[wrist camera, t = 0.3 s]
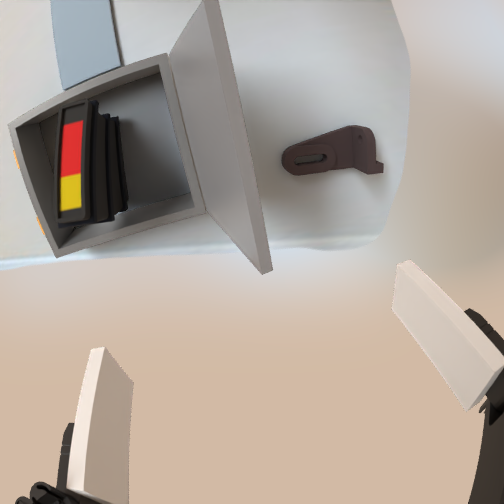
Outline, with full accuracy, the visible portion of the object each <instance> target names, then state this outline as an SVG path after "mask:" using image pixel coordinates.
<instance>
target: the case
mask: <svg viewBox="0 0 504 504" xmlns="http://www.w3.org/2000/svg"><path fill="white" fill-rule="evenodd" d="M160 72H161V76H162V81H163V85H164V89H165V94H166V98H167V102H168V106H169V111H170V115H171V119H172V123H173V127H174V131H175V135H176V139H177V143H178V147H179V150H180V154H181V158H182V162H183V166H184V169H185V173H186V177H187V180H188V184H189V188H190V191H191V193H188V194H184V195H181V196H177V197H174V198H170V199H167V200H163V201H160V202H156V203H153V204H150V205H146V206H143V207H140V208H137V209H133V210H130V211H127V212H124V213H121V214H118V215H115V220H114V221H112V222H105V223H98V224H91V225H85V226H82V227H80V228H77V229H74V227H69V228H63V229H62V228H58V223H57V222H55V218H54V174H53V171H52V168H51V165H50V162H49V158H48V155H47V152H46V148H45V145H44V141H43V138H42V134H41V130H40V126H39V122H41V121H43V120H45V119H47V118H49V117H50V116H52V115H54V114H56V113H58V112H59V108H60V107H61V106H62V105H65V104H69V103H72V102H76V101H80V100H84V99H88V98H90V97H93V96H95V95H98V94H100V93H102V92H105V91H107V90H110V89H113V88H115V87H118V86H121V85H123V84H126V83H129V82H132V81H135V80H138V79H141V78H144V77H147V76H150V75H153V74H157V73H160ZM8 127H9V132H10V136H11V139H12V143H13V147H14V150H13V152H14V156H15V159H16V163H17V166H18V169H19V168H20V170H21V173H22V177H23V179H24V182H25V185H26V188H27V191H28V194H29V196H30V199H31V202H32V204H33V207H34V209H35V212H36V214H37V221H38V223H39V225H40V228H41V230H42V232H43V234H44V235H46V238H47V240H48V242H49V244H50V246H51V248H52V250H53V253H54V255H55V257H56V258H58V257H61V256H64V255H67V254H70V253H73V252H76V251H79V250H82V249H86V248H89V247H92V246H95V245H98V244H101V243H104V242H108V241H111V240H114V239H117V238H121V237H124V236H127V235H130V234H134V233H137V232H141V231H144V230H147V229H151V228H154V227H158V226H161V225H165V224H168V223H172V222H176V221H179V220H183V219H186V218H190V217H194V216H198V215H201V214H205V213H206V207H205V201H204V198H203V194H202V190H201V186H200V182H199V179H198V175H197V171H196V167H195V163H194V159H193V155H192V151H191V147H190V143H189V139H188V135H187V131H186V127H185V123H184V119H183V115H182V110H181V106H180V102H179V98H178V93H177V89H176V85H175V80H174V76H173V71H172V67H171V62H170V58H169V56H168V54H167V53H164V54H161V55H157V56H154V57H150V58H147V59H144V60H141V61H138V62H135V63H132V64H129V65H126V66H124V67H121V68H118V69H115V70H113V71H110V72H108V73H105V74H103V75H100V76H98V77H95V78H93V79H91V80H88V81H86V82H84V83H82V84H80V85H77V86H75V87H73V88H71V89H69V90H67V91H65V92H63V93H61V94H59V95H57V96H55V97H53V98H51V99H49V100H48V101H46V102H44V103H42V104H40V105H38V106H37V107H35V108H33V109H32V110H30V111H28V112H26V113H25V114H23V115H22V116H20V117H18V118H17V119H15V120H14V121H12V122H11V123H9V124H8Z"/></svg>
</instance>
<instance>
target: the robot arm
mask: <svg viewBox="0 0 504 504" xmlns="http://www.w3.org/2000/svg"><path fill="white" fill-rule="evenodd" d="M392 311H393V312H394V313H395V315H396V316H397V317H398V318H399V319H400V321H401V322H402V323H403V325H404V326H405V327H406V329H407V330H408V331H409V332H410V334H411V335H412V336H413V338H414V339H415V340H416V341H417V343H418V344H419V346H420V347H421V348H422V350H423V351H424V352H425V353H426V355H427V356H428V358H429V359H430V360H431V362H432V363H433V365H434V366H435V367H436V369H437V370H438V372H439V373H440V374H441V376H442V377H443V379H444V380H445V381H446V383H447V384H448V386H449V387H450V389H451V390H452V392H453V393H454V395H455V396H456V397H457V399H458V400H459V402H460V403H461V405H462V406H463V408H464V409H465V411H466V412H467V411H468V410H470V409H471V408H472V407H473V406H475V405H476V404H478V403H479V402H480V401H481V399H482V398H483V397H484V395H486V396H487V400H486V401H485V402H484V404H483V405H482V406H481V407H480V410H479V413H481V412H482V411H483V410H484V409H485V407H486V410H485V412H484V413H485V420H484V429H483V436H482V444H481V450H480V456H479V461H478V466H477V471H476V475H475V479H474V484H473V488H472V491H471V495H470V499H469V502H468V504H504V340H503V338H502V337H501V336H500V335H499V334H498V333H497V332H496V331H495V330H493V328H492V326H491V325H490V324H488V323H487V321H486V320H485V319H484V318H483V317H482V316H481V315H480V314H479V313H477V312H475V311H473V310H472V309H470V308H469V309H468V310H466V311H463V310H462V309H461V308H460V307H459V306H458V305H457V304H456V303H455V302H454V301H453V300H452V299H451V298H450V297H449V296H448V295H447V294H446V293H445V292H444V291H443V290H442V289H441V288H440V287H439V286H438V285H437V284H436V283H435V282H434V281H433V280H432V279H431V278H429V277H428V276H427V275H426V274H425V273H424V272H423V271H422V270H421V269H420V268H419V267H418V266H417V265H416V264H414V263H413V262H412V261H411V260H407V261H404V262H402V263H399V264H397V267H396V278H395V288H394V295H393V303H392ZM132 395H133V382H132V380H131V379H130V378H129V377H128V375H127V374H126V373H125V372H124V371H123V369H122V368H121V367H120V366H119V364H118V363H117V362H116V361H115V359H114V358H113V357H112V355H111V354H110V353H109V352H108V350H107V349H106V347H100V348H95V349H91V352H90V356H89V360H88V364H87V368H86V372H85V376H84V380H83V384H82V389H81V393H80V398H79V403H78V408H77V413H76V418H75V423H69V424H68V426H67V428H66V430H65V432H64V435H63V441H62V445H63V446H62V447H61V455H60V462H59V469H58V478H57V486H56V488H54V487H52V486H50V485H48V484H47V483H44V482H37V483H35V484H34V485H33V486H32V488H31V491H30V499H28V498H26V497H24V496H23V497H19V498H18V499H17V500H16V502H15V504H129V439H130V421H131V406H132Z"/></svg>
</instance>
